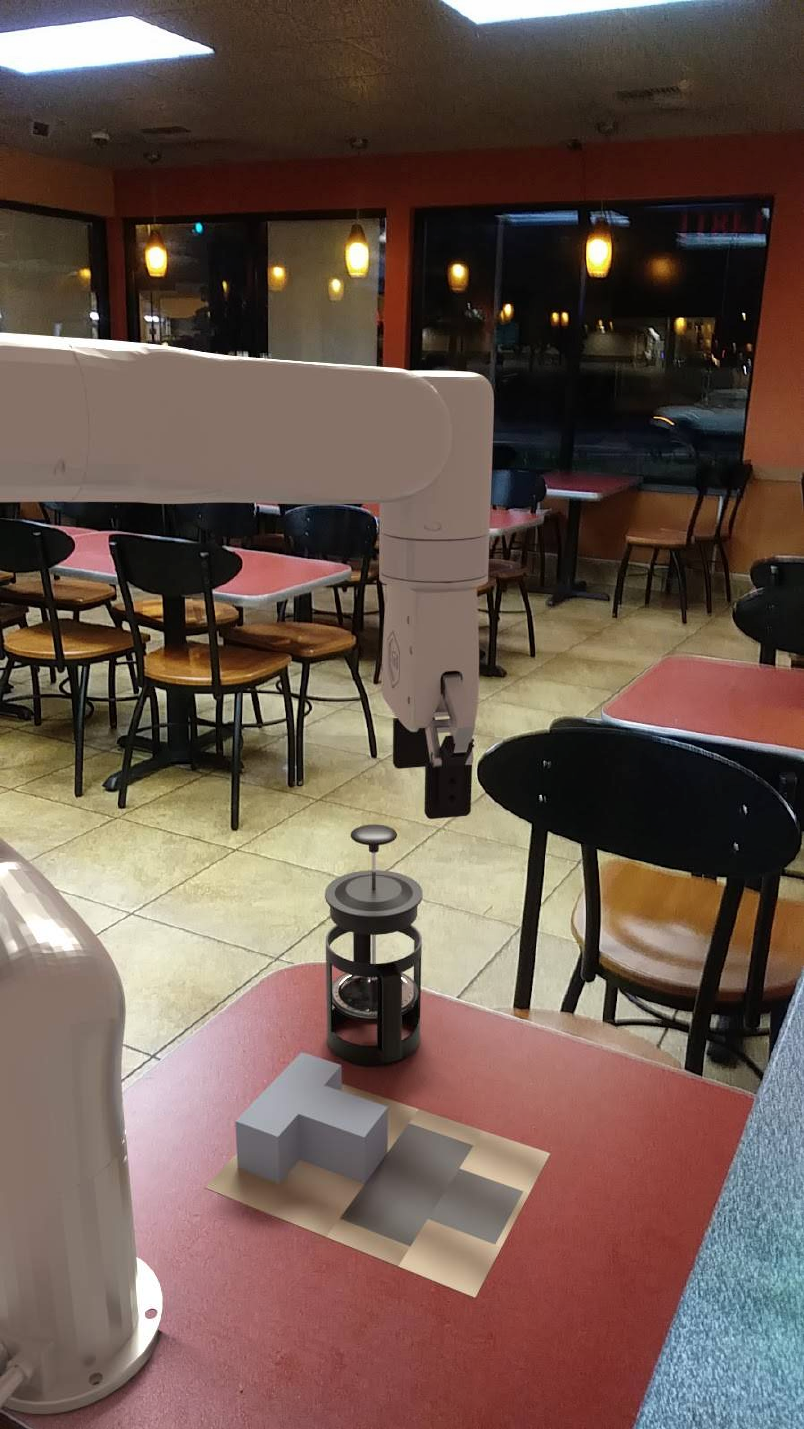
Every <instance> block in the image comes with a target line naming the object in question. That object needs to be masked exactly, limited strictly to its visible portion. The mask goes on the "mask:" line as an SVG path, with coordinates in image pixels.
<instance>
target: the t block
mask: <svg viewBox="0 0 804 1429" xmlns="http://www.w3.org/2000/svg"><path fill="white" fill-rule="evenodd" d="M342 1072H343V1071H342V1064H339V1063H335V1062H333V1061H330V1060H326V1059H323V1058H321V1057H318V1056H314V1055H311V1054H309V1053H305V1052H300V1053H299V1054H298V1055H297V1056H296V1057H295V1058H294V1059H293V1060H292V1062H290V1063H289V1065H288V1066H286V1068H285V1069H284V1070H283V1071H282V1072H281V1073H280V1074H279V1075H278V1076H276V1078H275V1079H274V1080H273V1081H272V1082H271V1083H270V1084H269V1085H268V1086H267V1087H266V1088H265V1090H263V1092H262V1093H261V1094H260V1095H259V1096H258V1097H256V1099H255V1100H254V1101H253V1102H252V1103H251V1104H250V1105H249V1106H248V1107H247V1108H246V1110H244V1111H243V1112H242V1113H241V1115H240V1116H239V1117H238V1118H237V1119H236V1120H235V1123H234V1124H235V1137H236V1138H235V1139H236V1140H235V1141H236V1153H237V1164H238V1168H241V1169H243V1170H246V1171H248V1172H251V1173H254V1174H256V1175H259V1176H261V1177H264V1178H266V1179H269V1180H271V1181H274V1182H277V1183H279V1184H280V1183H281V1182H282V1180H283V1179H284V1178H285V1177H286V1176H287V1174H288V1173H289V1172H290V1171H291V1170H292V1168H293V1167H294V1166H295V1165H296V1164H297V1162H298V1161H299V1160H302V1161H304V1162H307V1163H310V1164H312V1165H315V1166H318V1167H320V1168H323V1169H326V1170H328V1171H331V1172H333V1173H336V1174H339V1175H341V1176H344V1177H347V1178H349V1179H352V1180H355V1181H357V1182H360V1183H363V1184H365V1183H366V1181H367V1180H368V1179H369V1177H370V1176H371V1175H372V1173H373V1172H374V1170H375V1169H376V1168H377V1166H378V1165H379V1164H380V1162H381V1161H382V1159H383V1158H384V1157H385V1155H386V1154H387V1153H388V1107H386V1106H384V1105H381V1104H378V1103H375V1102H372V1101H369V1100H366V1099H363V1098H360V1097H357V1096H354V1095H351V1094H348V1093H345V1092H342V1084H343V1083H342V1082H343V1081H342V1079H343V1078H342V1077H343V1076H342Z"/></svg>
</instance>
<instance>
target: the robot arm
mask: <svg viewBox="0 0 804 1429" xmlns="http://www.w3.org/2000/svg"><path fill="white" fill-rule="evenodd" d="M494 401H495V398H494V389H493V387H492V384H491V383H490V381H489V379H487V378H486V377H485V376H484V375H482V374H479V373H478V372H477V373H476V372H473V371H461V370H460V371H459V370H457V371H456V370H407V369H404V368H398V367H387V366H386V367H385V366H383V367H382V366H367V365H355V364H353V365H352V364H340V363H339V364H338V363H337V364H336V363H327V362H326V363H325V362H312V361H311V362H309V361H300V360H299V361H296V360H283V359H282V360H281V359H271V358H258V357H257V358H256V357H246V356H237V355H236V356H235V355H225V354H220V353H219V354H218V353H210V352H202V351H197V350H191V349H190V350H189V349H186V348H180V347H174V346H167V345H161V344H152V343H142V342H134V341H133V342H132V341H131V342H130V341H122V340H113V339H112V340H110V339H97V338H96V339H95V338H83V337H81V338H80V337H68V336H67V337H64V336H53V335H52V336H51V335H39V334H27V333H26V334H25V333H24V334H23V333H13V332H11V333H10V332H0V503H34V502H35V503H42V502H44V503H46V502H48V503H49V502H55V503H56V502H64V503H65V502H66V503H88V502H89V503H90V502H91V503H93V502H94V503H95V502H99V503H106V502H107V503H145V504H157V505H159V504H160V505H161V504H162V505H163V504H165V505H166V504H167V505H170V504H171V505H175V504H176V505H179V504H180V505H181V504H182V505H183V504H184V505H185V504H203V503H207V504H208V503H241V504H243V503H244V504H245V503H246V504H247V503H248V504H274V505H275V504H276V505H277V504H280V505H282V504H284V505H346V504H347V505H349V504H351V505H354V504H357V505H358V504H359V505H360V504H363V505H364V504H379V533H378V534H379V542H378V543H379V550H378V551H379V559H378V560H379V563H378V564H379V568H378V569H379V574H378V575H379V576H378V578H379V581H380V583H383V584H385V585H386V593H385V594H386V595H385V601H384V602H385V603H384V604H385V605H384V618H383V633H382V634H383V635H382V636H383V637H382V653H381V655H382V657H381V659H382V660H381V675H380V676H381V679H380V680H381V682H380V687H381V688H380V691H381V694H382V697H383V700H384V702H385V703H386V704H387V706H388V708H390V710H391V711H392V713H393V715H394V717H393V718H392V764H393V766H394V768H396V769H399V770H401V769H412V768H424V806H423V807H424V815H425V816H426V818H427V819H428V820H429V819H430V820H435V819H436V820H437V819H438V820H439V819H446V818H458V817H459V818H461V817H467V816H469V815H470V813H471V810H472V782H473V781H472V780H473V778H472V777H473V764H474V752H473V748H474V747H475V744H474V742H475V739H474V738H473V736H474V732H475V728H476V719H477V714H478V707H479V706H478V703H479V684H480V681H479V680H480V678H479V677H480V668H479V667H480V645H479V644H480V643H479V642H480V641H479V640H480V637H479V636H480V634H479V616H480V615H479V610H478V608H479V607H478V589H477V587H481V586H484V585H486V584H487V583H488V581H489V564H490V563H489V558H490V556H489V555H490V532H491V531H490V526H491V525H490V524H491V506H492V504H491V502H492V501H491V500H492V499H491V498H492V474H493V472H492V469H493V449H494V448H493V447H494V446H493V442H494V441H493V440H494V411H495V410H494V408H495V404H494ZM438 717H439V718H441V717H449V718H441V719H436V718H438ZM446 733H450V735H445V736H444V738H443V740H442V741H441V742H442V743H441V745H440V739H439V734H446ZM126 1013H127V1010H126V996H125V991H124V986H123V983H122V979H121V977H120V974H119V972H118V969H117V966H116V965H115V963H114V960H113V958H112V957H111V955H110V954H109V952H108V950H107V948H106V947H105V946H104V944H103V943H102V941H101V940H100V939H99V937H98V936H97V935H96V933H95V932H94V931H93V930H92V929H91V927H90V926H89V925H88V924H87V922H86V921H85V920H84V919H83V918H82V917H81V915H80V914H79V913H78V912H77V911H76V910H75V908H73V907H72V906H71V905H70V904H69V902H67V900H66V899H65V897H64V896H62V894H61V893H60V892H59V890H57V889H56V886H54V885H53V884H52V883H51V881H49V879H48V878H46V876H45V875H44V874H43V873H42V872H41V871H40V870H39V869H38V868H37V867H36V866H34V865H33V864H32V863H31V862H30V861H28V860H27V858H25V857H24V856H23V855H21V854H20V853H19V852H18V851H17V850H16V849H15V848H14V847H13V846H12V845H10V844H9V843H8V842H6V841H5V840H4V839H3V838H2V837H1V836H0V1409H1V1408H2V1407H5V1408H7V1409H10V1410H12V1411H17V1412H21V1413H24V1414H31V1415H32V1414H34V1415H35V1414H37V1415H38V1414H40V1415H52V1414H59V1413H65V1412H70V1411H72V1410H76V1409H81V1408H82V1407H86V1406H88V1405H91V1404H93V1403H95V1402H98V1401H99V1400H101V1399H103V1398H106V1397H107V1396H109V1395H110V1394H113V1392H115V1391H117V1390H118V1389H119V1388H121V1387H122V1386H124V1385H125V1384H126V1383H127V1382H128V1381H129V1380H130V1379H131V1378H133V1376H135V1375H136V1374H137V1373H139V1371H140V1370H141V1368H142V1367H143V1366H144V1365H145V1364H146V1362H147V1361H148V1360H149V1358H150V1357H151V1356H152V1354H153V1351H154V1350H155V1348H156V1346H157V1345H158V1343H159V1340H160V1339H161V1338H160V1337H161V1334H162V1331H161V1330H160V1329H159V1327H160V1323H161V1321H162V1320H161V1319H162V1315H163V1310H164V1296H163V1293H162V1292H163V1291H162V1288H161V1284H160V1281H159V1280H158V1278H157V1276H156V1274H155V1272H154V1270H152V1268H150V1266H149V1265H148V1264H147V1263H146V1262H145V1261H143V1260H142V1259H140V1258H139V1257H138V1256H137V1244H136V1235H135V1224H134V1223H135V1222H134V1221H135V1220H134V1213H133V1200H132V1189H131V1176H130V1168H129V1166H130V1164H129V1155H128V1143H127V1132H126V1122H125V1111H124V1110H125V1109H124V1099H123V1098H124V1097H123V1096H124V1095H123V1083H122V1082H123V1080H122V1073H123V1072H122V1066H123V1065H122V1064H123V1063H122V1061H123V1049H124V1048H123V1047H124V1038H125V1029H126V1016H127V1014H126ZM150 1310H156V1312H157V1314H156V1316H155V1317H154V1318H150V1319H148V1318H147V1317H146V1315H145V1314H146V1313H147V1311H150Z"/></svg>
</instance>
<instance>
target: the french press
mask: <svg viewBox="0 0 804 1429" xmlns="http://www.w3.org/2000/svg"><path fill="white" fill-rule="evenodd" d="M397 837H398V833H397V831H396V830H395V829H394V828H393V827H390V826H388V825H384V824H373V823H372V824H364V825H361V826H357V827H356V828H354V829H353V830H352V831H351V832H350V838H351V840H352V841H354V842H355V843H358V844H360V845H366V846H368V852H369V853H371V869H367V870H360V871H352V872H350V873H346V874H344V875H341V876H339V877H337V878H335V879H334V880H332V881H331V882H330V883H329V884H328V885H327V886H326V888H325V892H324V898H325V902H326V903H327V904H328V906H329V915H330V919H331V920H332V922H333V923H334V924H335V925H334V926H332V928H330V929H329V931H328V932H327V934H326V936H325V981H326V982H325V983H326V984H325V985H326V986H325V988H326V989H325V990H326V992H325V993H326V994H325V995H326V1042H327V1046H328V1048H329V1050H330V1051H331V1052H332V1053H333V1055H334V1056H335V1057H337V1058H338V1059H340V1060H342V1062H346V1063H348V1064H350V1065H354V1066H358V1067H364V1068H381V1067H388V1066H394V1065H396V1064H398V1063H402V1062H403V1061H405V1060H407V1059H409V1058H410V1057H412V1055H413V1054H414V1053H416V1052H417V1050H418V1048H419V1045H420V1042H421V998H422V997H421V996H422V994H421V993H422V991H421V990H422V988H421V987H422V985H421V984H422V950H423V949H422V945H423V940H422V939H423V938H422V934H421V932H420V931H419V930H418V928H417V927H415V926H414V925H412V924H413V923H415V921H416V919H417V917H418V906H419V905H420V904H421V902H422V900H423V888H422V887H421V885H420V884H419V883H418V881H416V880H415V879H413V878H412V877H410V876H407V875H405V874H402V873H400V872H399V873H398V872H394V871H390V870H380V869H376V868H377V856H376V855H377V853H379V850H380V846H382V845H387V844H389V843H392V842H394V841H395V840H396V839H397ZM396 932H398V933H401V934H403V935H405V936H407V937H409V938H410V939H412V940H413V951H412V952H411V953H410V954H408V955H407V956H405V957H403V958H400V959H397V960H393V961H388V962H382V963H377V961H376V959H377V958H376V956H377V955H376V954H377V953H376V951H377V948H376V947H377V946H376V944H377V943H376V942H377V940H376V939H377V936H378V935H390V934H393V933H396ZM347 933H348V934H349V933H352V934H353V935H352V937H353V938H352V940H353V942H352V943H353V944H352V946H353V947H352V948H353V951H352V952H353V953H352V954H353V956H352V957H353V958H352V959H353V960H350V959H347V958H344V957H342V956H340V955H338V954H337V953H335V951H334V950H332V948H331V944H332V943H333V942H334V941H335V940H337V939H338V938H340V937H341V936H343V935H345V934H347ZM333 967H334V968H335V969H337V970H339V971H340V972H343V973H342V974H341V975H340V976H338V977H337V978H335V980H333ZM411 968H413V979H412V978H411V977H410V976H409V975H407V974H405V973H404V972H407V971H408V970H410V969H411ZM347 1018H352V1019H356V1020H360V1021H366V1022H376V1046H375V1045H362V1044H357V1043H353V1042H350V1041H347V1040H345V1039H343V1038H342V1037H340V1036H338V1035H337V1034H336V1033H335V1032H334V1028H335V1027H336V1026H337V1025H338V1024H339V1023H341V1022H342V1021H344V1020H345V1019H347ZM403 1020H404V1021H407V1022H408V1023H409V1024H410V1025H411V1026H412V1027H413V1029H414V1030H413V1031H412V1032H411V1033H410V1034H409V1035H408V1036H407V1037H405V1038H403V1037H402V1034H403V1029H402V1028H403V1026H402V1025H403ZM402 1038H403V1039H402Z"/></svg>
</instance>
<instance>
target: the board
mask: <svg viewBox="0 0 804 1429" xmlns="http://www.w3.org/2000/svg"><path fill="white" fill-rule="evenodd" d="M342 1092H345V1093H348V1094H351V1095H354V1096H357V1097H360V1098H363V1099H366V1100H369V1101H372V1102H375V1103H378V1104H381V1105H384V1106H386V1107H388V1153H387V1154H386V1155H385V1157H384V1158H383V1159H382V1161H381V1162H380V1164H379V1165H378V1166H377V1168H376V1169H375V1170H374V1172H373V1173H372V1175H371V1176H370V1177H369V1179H368V1180H367V1181H366V1183H365V1184H363V1183H360V1182H357V1181H355V1180H352V1179H349V1178H347V1177H344V1176H341V1175H339V1174H336V1173H333V1172H331V1171H328V1170H326V1169H323V1168H320V1167H318V1166H315V1165H312V1164H310V1163H307V1162H304V1161H302V1160H299V1161H298V1162H297V1164H296V1165H295V1166H294V1167H293V1168H292V1170H291V1171H290V1172H289V1173H288V1174H287V1176H286V1177H285V1178H284V1179H283V1180H282V1182H281V1183H280V1184H279V1183H277V1182H274V1181H271V1180H269V1179H266V1178H264V1177H261V1176H259V1175H256V1174H254V1173H251V1172H248V1171H246V1170H243V1169H241V1168H238V1164H237V1152H236V1154H234V1155H233V1156H232V1158H231V1159H230V1160H229V1161H227V1163H226V1164H225V1165H224V1166H223V1167H222V1169H221V1170H220V1171H219V1172H218V1173H217V1174H216V1175H214V1177H213V1178H212V1179H211V1180H210V1182H209V1183H208V1184H207V1185H206V1186H205V1187H204V1188H205V1189H206V1190H209V1191H211V1192H215V1193H216V1194H219V1195H221V1196H223V1197H226V1198H229V1199H231V1200H234V1201H237V1202H239V1203H241V1204H244V1205H246V1206H248V1207H251V1208H252V1209H255V1210H258V1211H260V1212H263V1213H265V1214H268V1215H269V1216H272V1217H275V1218H277V1219H281V1220H283V1221H285V1222H288V1223H291V1224H292V1225H295V1226H298V1227H299V1228H302V1229H305V1230H306V1231H310V1232H312V1233H314V1234H317V1235H319V1236H321V1237H324V1238H327V1239H329V1240H332V1241H334V1242H337V1243H339V1244H341V1245H343V1246H347V1247H349V1248H352V1249H354V1250H356V1251H359V1252H361V1253H364V1254H366V1255H368V1256H371V1257H374V1258H376V1259H379V1260H381V1261H383V1262H385V1263H388V1264H391V1265H393V1266H396V1267H398V1268H400V1269H403V1270H406V1271H408V1272H411V1273H412V1274H415V1275H417V1276H420V1277H423V1278H425V1279H428V1280H430V1281H433V1282H434V1283H437V1284H439V1285H442V1286H445V1287H447V1288H450V1289H452V1290H454V1291H457V1292H460V1293H462V1294H464V1295H467V1296H468V1297H471V1298H474V1299H476V1297H477V1296H478V1293H479V1292H480V1289H481V1288H482V1286H483V1285H484V1283H485V1281H486V1278H487V1276H488V1275H489V1272H490V1270H491V1269H492V1266H493V1265H494V1263H495V1261H496V1259H497V1257H498V1255H499V1253H500V1251H501V1249H502V1247H503V1246H504V1244H505V1242H506V1240H507V1238H508V1236H509V1234H510V1233H511V1230H512V1228H513V1227H514V1224H515V1223H516V1221H517V1218H518V1216H519V1215H520V1213H521V1211H522V1210H523V1207H524V1205H525V1203H526V1202H527V1200H528V1198H529V1196H530V1194H531V1192H532V1190H533V1188H534V1187H535V1184H536V1182H537V1180H538V1179H539V1176H540V1174H541V1172H542V1171H543V1168H544V1166H545V1165H546V1163H547V1161H548V1159H549V1157H550V1155H551V1153H550V1152H547V1151H545V1150H542V1149H539V1148H535V1147H533V1146H530V1145H526V1144H524V1143H521V1142H518V1141H515V1140H512V1139H509V1138H505V1137H503V1136H500V1135H497V1134H494V1133H491V1132H488V1131H485V1130H482V1129H479V1128H476V1127H473V1126H470V1125H468V1124H464V1123H461V1122H458V1121H455V1120H452V1119H449V1118H446V1117H443V1116H440V1115H438V1114H433V1113H432V1112H428V1111H426V1110H422V1109H419V1108H417V1107H414V1106H412V1105H411V1106H410V1105H407V1104H405V1103H403V1102H399V1101H395V1100H392V1099H390V1098H386V1097H383V1096H380V1095H378V1094H375V1093H371V1092H369V1091H366V1090H363V1089H360V1088H356V1087H355V1086H351V1085H348V1084H345V1083H342Z"/></svg>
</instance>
